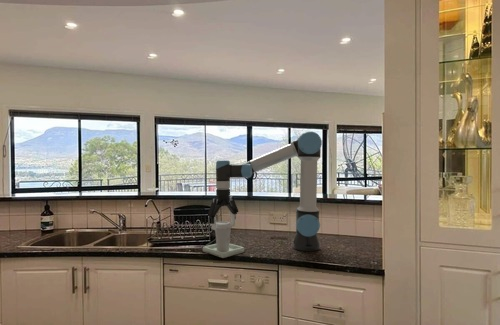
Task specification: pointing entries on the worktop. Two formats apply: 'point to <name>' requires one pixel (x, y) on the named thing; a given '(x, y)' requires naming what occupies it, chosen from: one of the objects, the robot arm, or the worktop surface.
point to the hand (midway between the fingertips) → (223, 227)
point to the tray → (232, 251)
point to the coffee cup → (223, 236)
